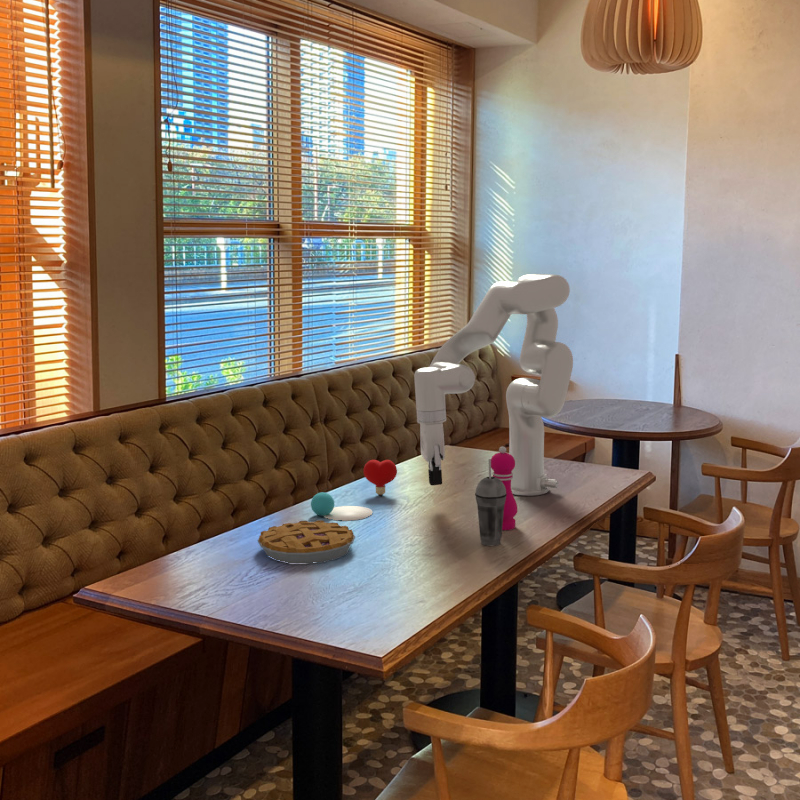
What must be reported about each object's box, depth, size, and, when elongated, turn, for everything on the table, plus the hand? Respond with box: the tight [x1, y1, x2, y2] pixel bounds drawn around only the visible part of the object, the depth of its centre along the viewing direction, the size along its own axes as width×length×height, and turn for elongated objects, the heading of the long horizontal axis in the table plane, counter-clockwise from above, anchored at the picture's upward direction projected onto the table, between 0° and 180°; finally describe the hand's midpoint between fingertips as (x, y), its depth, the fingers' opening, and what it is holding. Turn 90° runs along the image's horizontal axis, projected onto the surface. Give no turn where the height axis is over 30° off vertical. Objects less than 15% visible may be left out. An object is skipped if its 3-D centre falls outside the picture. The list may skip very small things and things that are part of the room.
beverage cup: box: [474, 458, 507, 547], centre depth 212 cm, size 7×7×20 cm
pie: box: [257, 519, 356, 564], centre depth 210 cm, size 22×22×5 cm
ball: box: [310, 491, 335, 517], centre depth 238 cm, size 6×6×6 cm
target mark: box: [324, 505, 374, 522], centre depth 240 cm, size 13×13×1 cm
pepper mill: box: [490, 446, 519, 531], centre depth 225 cm, size 7×7×20 cm
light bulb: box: [363, 459, 398, 497], centre depth 256 cm, size 9×7×10 cm
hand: (435, 484), depth 242 cm, fingers closed
